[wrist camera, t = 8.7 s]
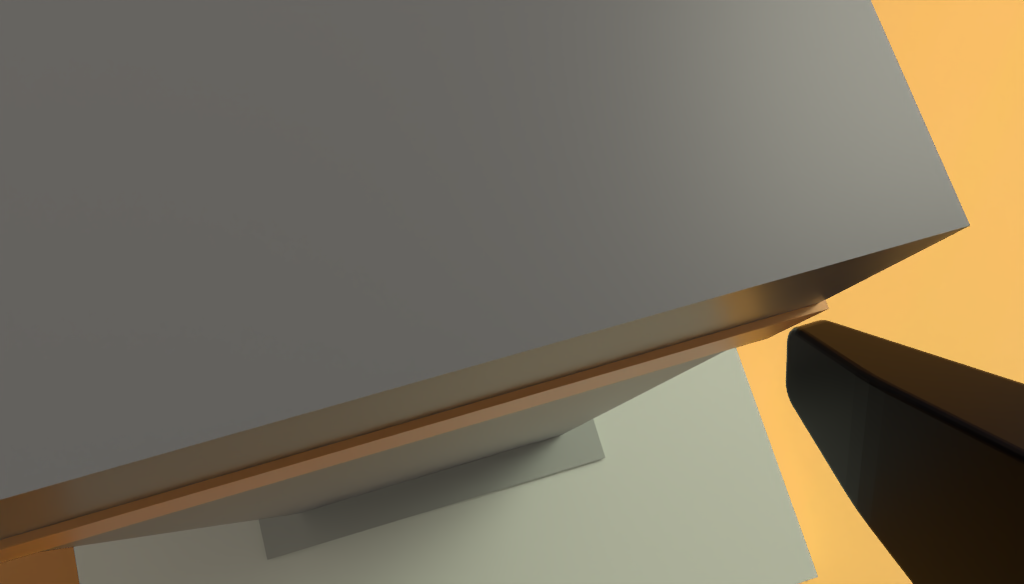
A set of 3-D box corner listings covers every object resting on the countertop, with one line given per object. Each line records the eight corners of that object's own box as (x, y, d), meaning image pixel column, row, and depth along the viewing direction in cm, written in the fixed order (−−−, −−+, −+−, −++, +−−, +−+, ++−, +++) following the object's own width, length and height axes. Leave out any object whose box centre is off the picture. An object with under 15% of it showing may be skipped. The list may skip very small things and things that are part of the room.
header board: (797, 572, 17) (881, 592, 14) (138, 792, 15) (49, 877, 12) (600, 14, 20) (629, -81, 17) (27, 142, 18) (-69, 63, 15)
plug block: (565, 436, 17) (983, 232, 4) (297, 516, 16) (-442, 638, 3) (490, 190, 18) (593, -645, 5) (237, 254, 17) (-479, -533, 4)
